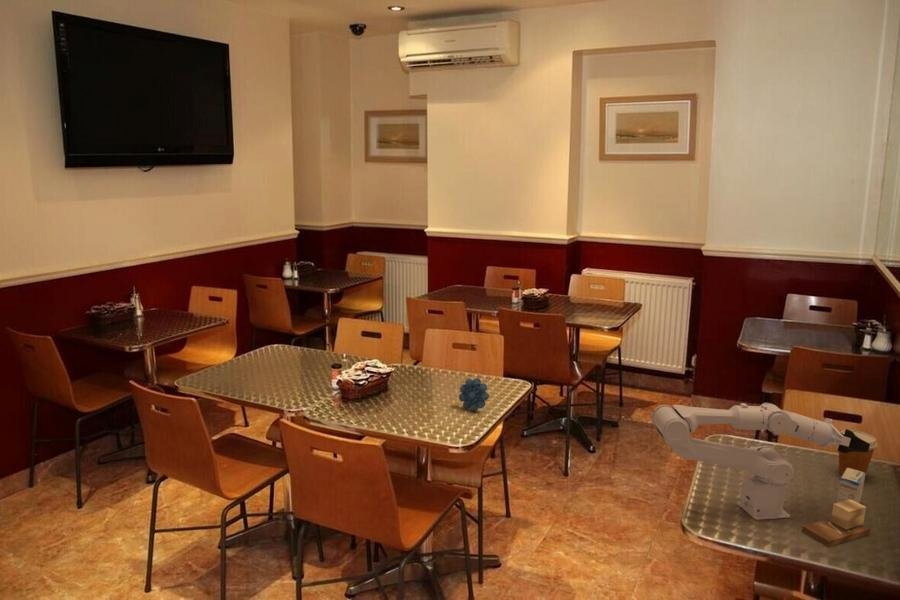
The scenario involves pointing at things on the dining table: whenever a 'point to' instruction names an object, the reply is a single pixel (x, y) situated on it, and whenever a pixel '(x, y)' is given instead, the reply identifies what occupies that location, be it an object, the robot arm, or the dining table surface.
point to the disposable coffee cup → (857, 455)
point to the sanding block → (848, 515)
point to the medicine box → (851, 485)
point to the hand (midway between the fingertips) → (857, 444)
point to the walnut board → (833, 532)
